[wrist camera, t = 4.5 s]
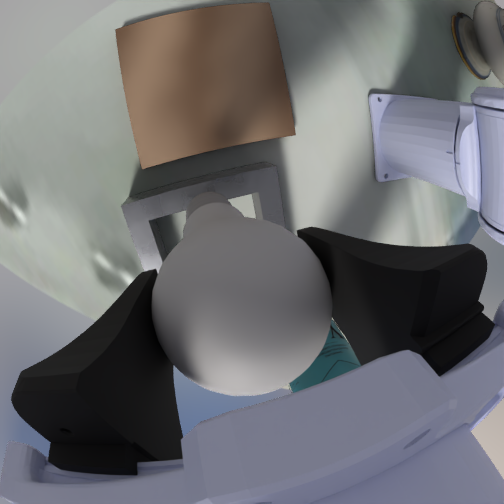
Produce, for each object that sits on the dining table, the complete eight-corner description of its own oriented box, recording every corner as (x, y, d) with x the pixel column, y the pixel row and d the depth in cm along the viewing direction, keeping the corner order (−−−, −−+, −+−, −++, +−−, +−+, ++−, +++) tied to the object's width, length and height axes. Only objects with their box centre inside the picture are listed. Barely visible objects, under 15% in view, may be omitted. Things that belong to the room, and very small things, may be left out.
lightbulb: (137, 176, 13) (109, 362, 5) (247, 142, 14) (385, 267, 5) (174, 262, 17) (203, 435, 8) (264, 233, 18) (354, 381, 9)
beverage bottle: (329, 330, 29) (426, 479, 11) (275, 354, 29) (347, 521, 11) (320, 286, 26) (450, 462, 8) (257, 314, 25) (345, 523, 8)
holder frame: (266, 161, 20) (276, 166, 17) (284, 279, 24) (293, 294, 22) (128, 197, 18) (121, 205, 16) (170, 310, 23) (169, 328, 21)
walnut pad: (265, 7, 14) (269, 2, 13) (290, 134, 19) (295, 135, 18) (118, 33, 13) (115, 29, 12) (144, 167, 18) (142, 169, 17)
